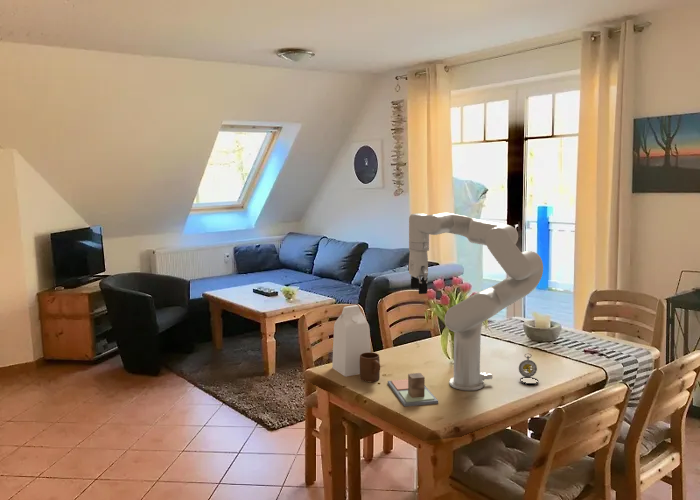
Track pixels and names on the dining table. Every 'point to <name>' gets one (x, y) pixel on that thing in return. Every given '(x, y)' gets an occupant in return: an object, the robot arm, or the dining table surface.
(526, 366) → the pocket watch
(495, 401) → the dining table surface
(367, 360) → the mug
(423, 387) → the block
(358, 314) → the milk
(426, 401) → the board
